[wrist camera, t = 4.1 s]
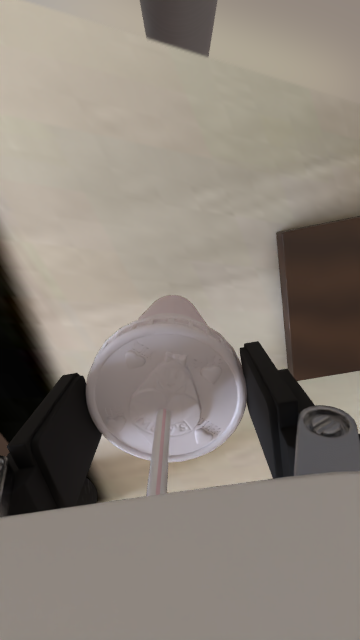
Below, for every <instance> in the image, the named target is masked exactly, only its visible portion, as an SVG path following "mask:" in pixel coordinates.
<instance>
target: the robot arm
mask: <svg viewBox="0 0 360 640" xmlns="http://www.w3.org/2000/svg"><path fill="white" fill-rule="evenodd" d="M240 356H241V363H242V370H243V375H244V378H245V382H246V388H247V406H248V410H249V414H250V416H251V419H252V422H253V425H254V427H255V430H256V433H257V436H258V438H259V441H260V444H261V447H262V449H263V452H264V455H265V458H266V460H267V463H268V466H269V469H270V471H271V474H272V477H273V479H268V480H260V481H253V482H246V483H238V484H231V485H224V486H216V487H209V488H202V489H194V490H187V491H180V492H173V493H166V494H158V495H151V496H144V497H137V498H130V499H123V500H116V501H109V502H102V503H95V504H88V505H81V506H75V505H76V503H77V500H78V497H79V495H80V492H81V489H82V487H83V484H84V481H85V479H86V476H87V473H88V471H89V468H90V465H91V463H92V460H93V457H94V455H95V452H96V449H97V447H98V444H99V441H100V439H101V436H102V433H101V432H100V431H99V429H98V428H97V427H96V425H95V423H94V422H93V420H92V418H91V415H90V413H89V410H88V407H87V402H86V382H85V379H84V377H83V376H80V375H79V374H78V373H74V374H68V375H63V376H62V377H61V378H60V380H59V381H58V382H57V383H56V385H55V386H54V387H53V388H52V390H51V391H50V392H49V393H48V395H47V396H46V397H45V399H44V400H43V401H42V402H41V404H40V405H39V406H38V407H37V409H36V410H35V411H34V413H33V414H32V415H31V416H30V418H29V419H28V420H27V421H26V423H25V424H24V425H23V427H22V428H21V429H20V430H19V432H18V433H17V434H16V435H15V437H14V438H13V439H12V440H11V442H10V443H9V444H8V446H7V448H8V450H9V452H10V453H9V454H8V455H7V457H5V456H0V640H360V434H358V430H357V425H356V423H355V421H354V419H353V418H352V417H351V416H350V415H349V414H347V413H346V412H344V411H342V410H340V409H337V408H335V407H330V406H325V405H316V406H315V405H314V404H313V402H312V401H311V400H310V398H309V397H308V396H307V394H306V393H305V392H304V390H303V389H302V388H301V386H300V385H299V384H298V382H297V381H296V380H295V378H294V377H293V375H292V374H291V373H290V371H289V370H288V369H283V370H277V368H276V367H275V365H274V364H273V362H272V361H271V359H270V358H269V356H268V355H267V353H266V352H265V351H264V349H263V348H262V346H261V345H260V343H259V342H258V341H257V342H251V343H245V344H244V347H243V348H240Z"/></svg>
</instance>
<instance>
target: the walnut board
mask: <svg viewBox="0 0 360 640" xmlns="http://www.w3.org/2000/svg"><path fill="white" fill-rule="evenodd" d="M276 235H277V246H278V258H279V270H280V281H281V293H282V305H283V316H284V328H285V339H286V351H287V363H288V370H289V371H290V373H291V374H292V375H293V377H294V378H295V380H296V381H300V380H306V379H312V378H318V377H324V376H330V375H336V374H342V373H348V372H354V371H360V216H357V217H352V218H347V219H342V220H337V221H332V222H327V223H322V224H317V225H312V226H307V227H302V228H297V229H292V230H287V231H282V232H277V233H276Z"/></svg>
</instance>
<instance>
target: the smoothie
mask: <svg viewBox="0 0 360 640" xmlns="http://www.w3.org/2000/svg"><path fill="white" fill-rule="evenodd" d="M246 401H247V388H246V382H245V378H244V375H243V371H242V365H241V363H240V361H239V359H238V357H237V355H236V353H235V350H234V349H233V347H232V346H231V345H230V344H229V343H228V342H227V341H226V340H225V339H224V337H223V336H222V335H221V334H220V333H218V332H217V331H215V330H213V329H212V328H210V327H209V326H208V325H207V324H206V322H205V321H204V319H203V318H202V317H201V315H200V314H199V312H198V311H197V309H196V308H195V307H194V305H193V304H192V303H191V302H190V301H189V300H187V299H186V298H184V297H181V296H178V295H167V296H164V297H161V298H159V299H158V300H156V301H155V302H154V303H153V304H152V305H151V306H150V307H149V308H148V309H147V310H146V311H145V312H144V313H143V314H142V315H141V316H140V317H139V319H138V320H136V321H134V322H132V323H130V324H128V325H126V326H124V327H122V328H120V329H119V330H118V331H116V332H115V333H114V334H113V335H112V336H111V337H110V338H108V339H107V340H106V341H105V342H104V344H103V346H102V347H101V349H100V350H99V352H98V354H97V355H96V357H95V360H94V363H93V364H92V366H91V369H90V371H89V374H88V378H87V383H86V402H87V407H88V410H89V413H90V415H91V418H92V420H93V422H94V423H95V425H96V427H97V428H98V429H99V431H100V432H101V433H102V434H103V436H104V437H105V438H106V439H108V440H109V441H110V442H111V443H112V444H113V445H115V446H116V447H118V448H119V449H121V450H123V451H124V452H126V453H128V454H131V455H133V456H136V457H138V458H141V459H145V460H150V461H151V463H150V471H149V479H148V487H147V495H146V496H151V495H158V494H166V493H167V479H168V462H179V461H185V460H190V459H194V458H197V457H200V456H202V455H204V454H207V453H209V452H211V451H212V450H214V449H216V448H217V447H218V446H220V445H221V444H222V443H224V442H225V441H226V440H227V439H228V438H229V437H230V436H231V435H232V433H233V432H234V431H235V430H236V428H237V427H238V425H239V423H240V421H241V419H242V417H243V414H244V411H245V407H246Z"/></svg>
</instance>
